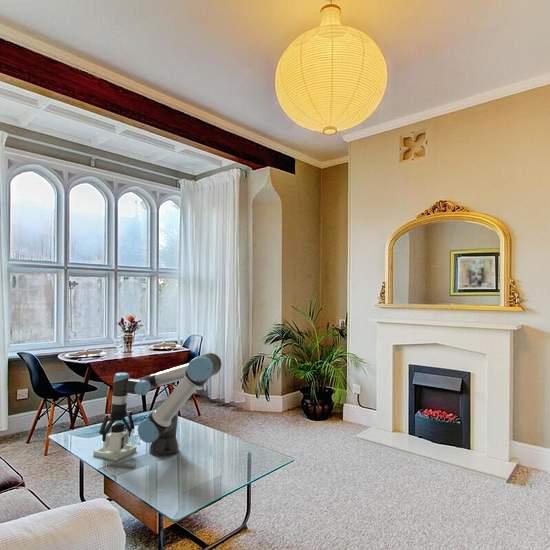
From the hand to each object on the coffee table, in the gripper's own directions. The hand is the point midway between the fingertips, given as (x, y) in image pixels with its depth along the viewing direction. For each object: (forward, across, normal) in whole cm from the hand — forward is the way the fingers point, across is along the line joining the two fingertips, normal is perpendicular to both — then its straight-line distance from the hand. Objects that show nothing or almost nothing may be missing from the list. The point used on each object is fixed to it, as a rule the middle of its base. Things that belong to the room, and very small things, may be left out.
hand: (115, 445), depth 216 cm
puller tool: (+4, +3, +18) cm, 18 cm away
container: (+2, 0, 0) cm, 2 cm away
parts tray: (+4, 0, 0) cm, 4 cm away
